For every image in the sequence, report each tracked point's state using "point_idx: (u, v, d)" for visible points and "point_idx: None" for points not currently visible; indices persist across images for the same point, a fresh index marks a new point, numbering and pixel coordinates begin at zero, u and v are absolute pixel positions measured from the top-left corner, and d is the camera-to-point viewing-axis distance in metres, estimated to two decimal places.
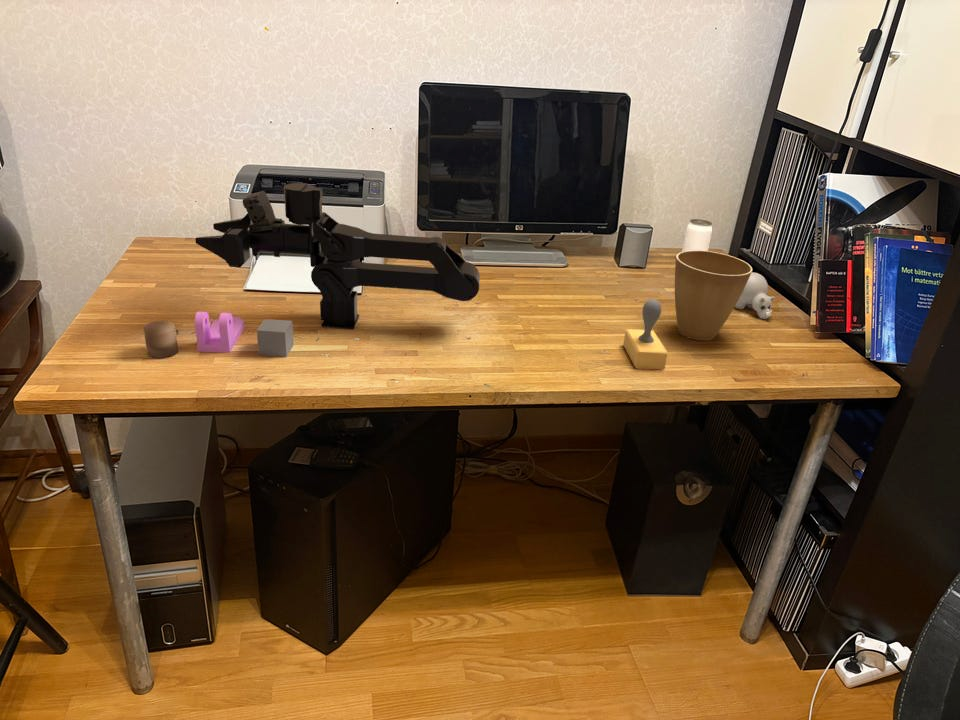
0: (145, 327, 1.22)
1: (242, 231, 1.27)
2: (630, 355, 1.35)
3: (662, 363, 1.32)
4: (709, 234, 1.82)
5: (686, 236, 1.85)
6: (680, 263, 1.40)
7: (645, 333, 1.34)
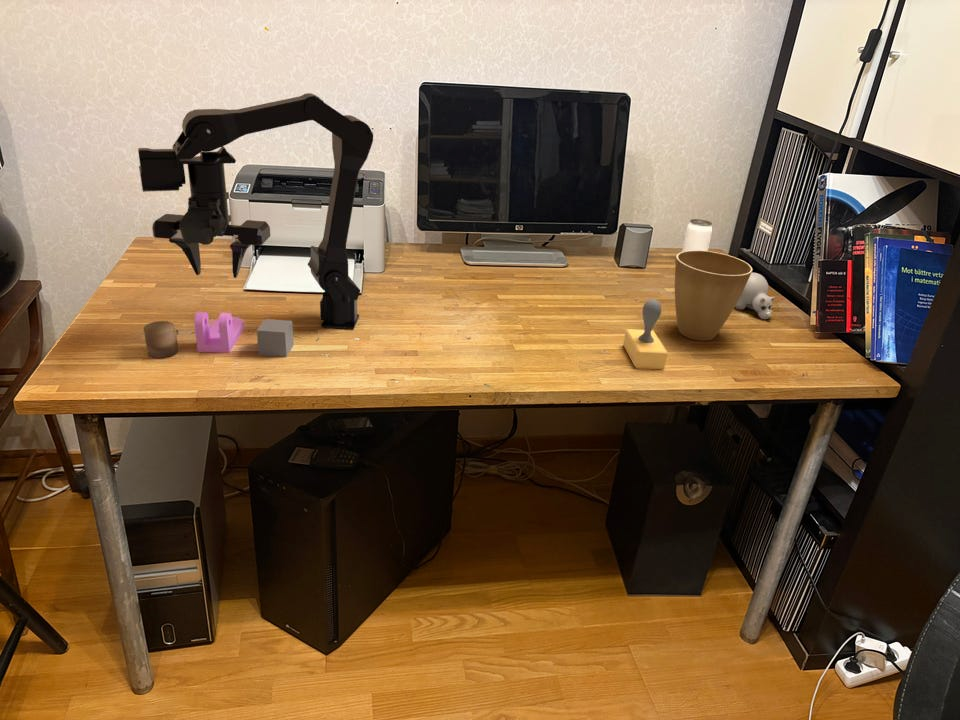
0: (145, 327, 1.22)
1: (242, 232, 1.20)
2: (630, 355, 1.35)
3: (662, 363, 1.32)
4: (709, 234, 1.83)
5: (686, 236, 1.85)
6: (680, 263, 1.40)
7: (645, 333, 1.34)
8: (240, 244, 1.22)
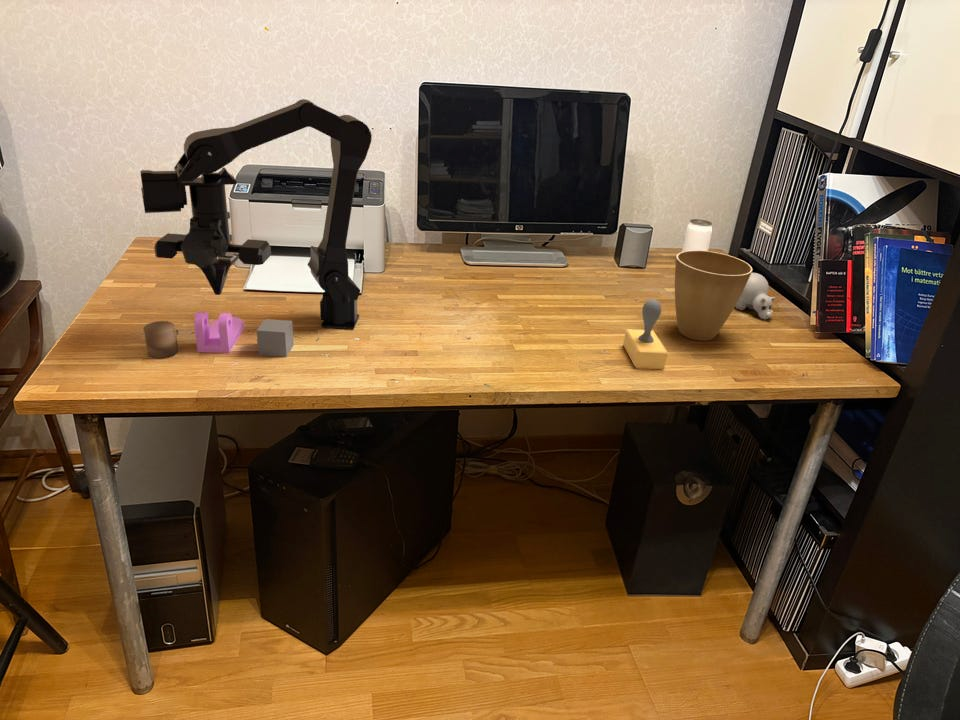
0: (145, 327, 1.22)
1: (243, 252, 1.22)
2: (630, 355, 1.35)
3: (662, 363, 1.32)
4: (709, 234, 1.82)
5: (686, 236, 1.85)
6: (680, 263, 1.40)
7: (645, 333, 1.34)
8: (223, 262, 1.23)
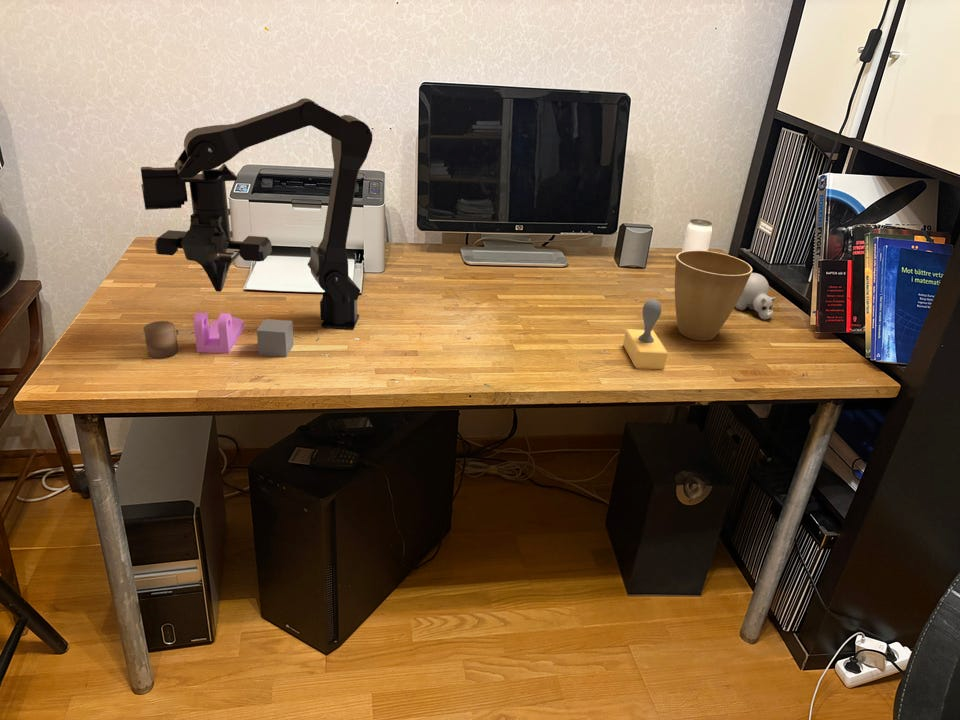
0: (145, 327, 1.22)
1: (244, 249, 1.21)
2: (630, 355, 1.35)
3: (662, 363, 1.32)
4: (709, 234, 1.82)
5: (686, 236, 1.85)
6: (680, 263, 1.40)
7: (645, 333, 1.34)
8: (224, 259, 1.23)
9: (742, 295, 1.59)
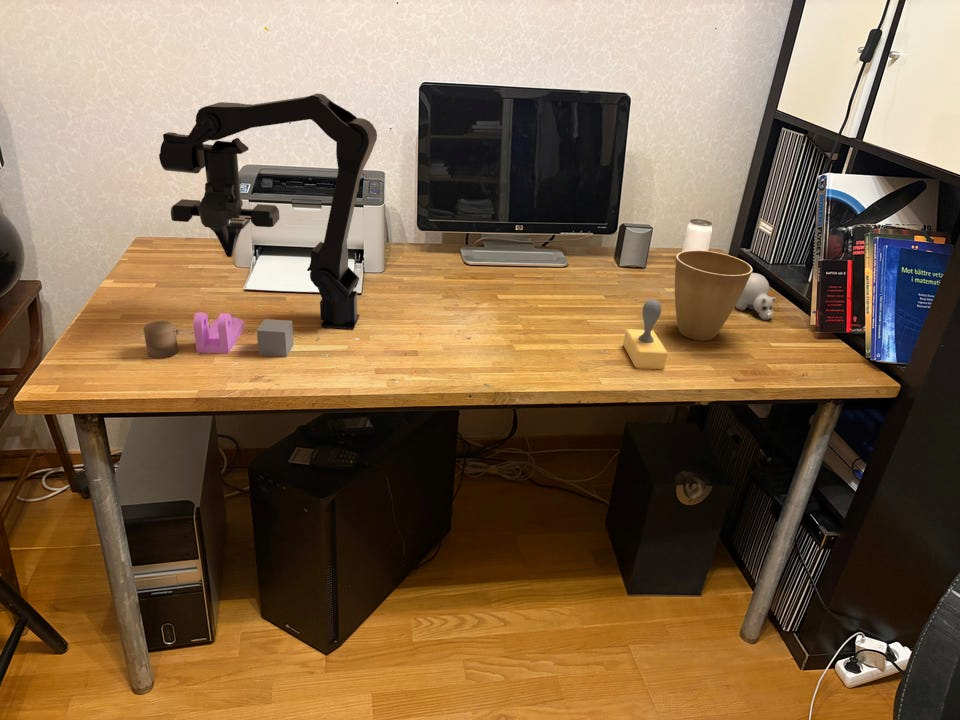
0: (145, 327, 1.22)
1: (255, 215, 1.30)
2: (630, 355, 1.35)
3: (662, 363, 1.32)
4: (709, 234, 1.83)
5: (686, 236, 1.85)
6: (680, 263, 1.40)
7: (645, 333, 1.34)
8: (236, 225, 1.32)
9: (742, 295, 1.59)
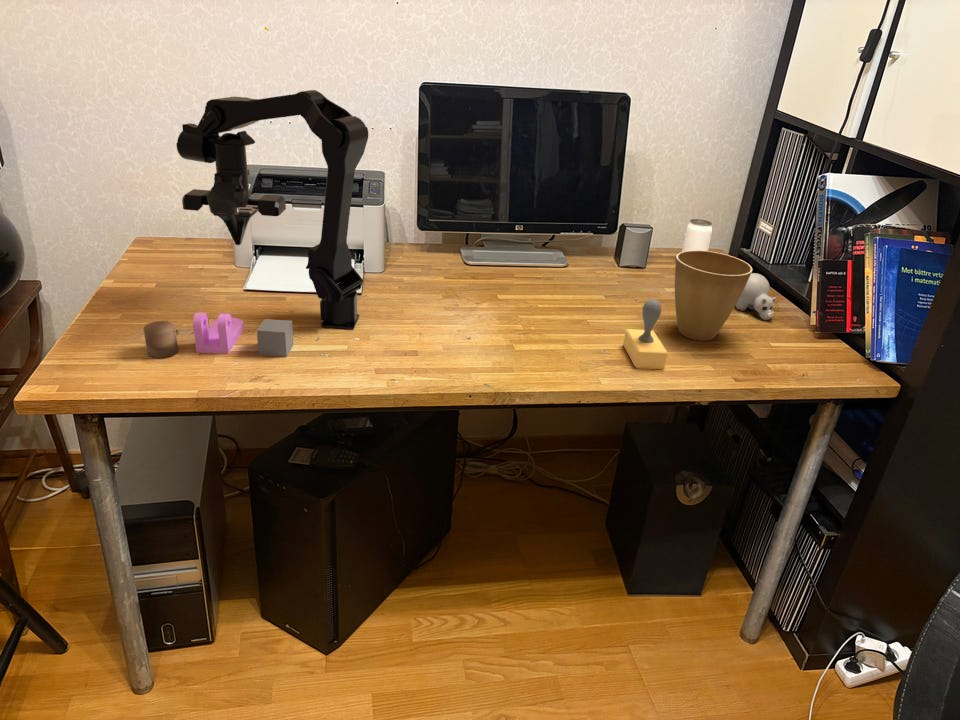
0: (145, 327, 1.22)
1: (261, 204, 1.36)
2: (630, 355, 1.35)
3: (662, 363, 1.32)
4: (709, 234, 1.82)
5: (686, 236, 1.85)
6: (680, 263, 1.40)
7: (645, 333, 1.34)
8: (243, 214, 1.38)
9: (743, 295, 1.59)
